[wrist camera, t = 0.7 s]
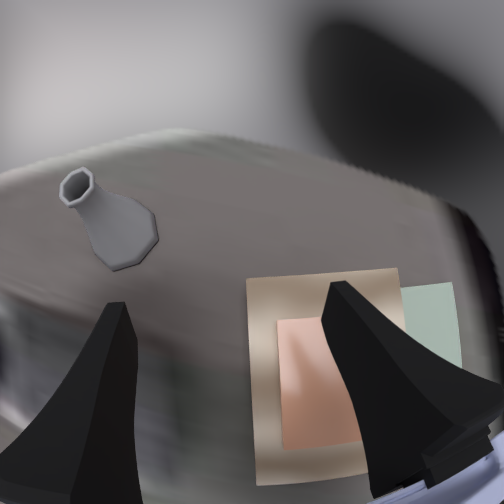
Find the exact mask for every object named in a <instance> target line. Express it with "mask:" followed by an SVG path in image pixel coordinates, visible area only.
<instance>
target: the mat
mask: <svg viewBox="0 0 504 504" xmlns="http://www.w3.org/2000/svg"><path fill="white" fill-rule="evenodd" d="M400 289H401V296H402V303H403V310H404V319H405V327H406V333H407V334H408V335H409V336H411V337H412V338H413V339H415V340H416V341H417V342H419V343H420V344H422V345H423V346H425V347H426V348H428V349H429V350H430V351H432V352H434V353H435V354H437V355H438V356H440V357H442V358H444V359H445V360H447V361H449V362H450V363H452V364H454V365H456V366H458V367H460V368H462V360H461V348H460V337H459V328H458V320H457V312H456V305H455V299H454V292H453V286H452V282H448V283H440V284H432V285H423V286H415V287H406V288H400Z"/></svg>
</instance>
